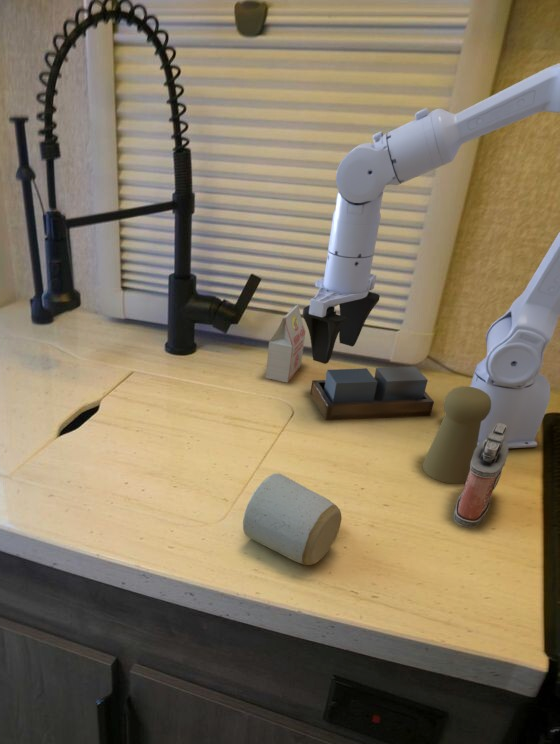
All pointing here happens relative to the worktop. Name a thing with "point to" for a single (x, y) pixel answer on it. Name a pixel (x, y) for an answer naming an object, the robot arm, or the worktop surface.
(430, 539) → the worktop surface
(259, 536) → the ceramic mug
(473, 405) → the olive pawn piece
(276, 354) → the milk carton
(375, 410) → the brown wooden tray
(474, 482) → the lighter
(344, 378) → the blue gray block
